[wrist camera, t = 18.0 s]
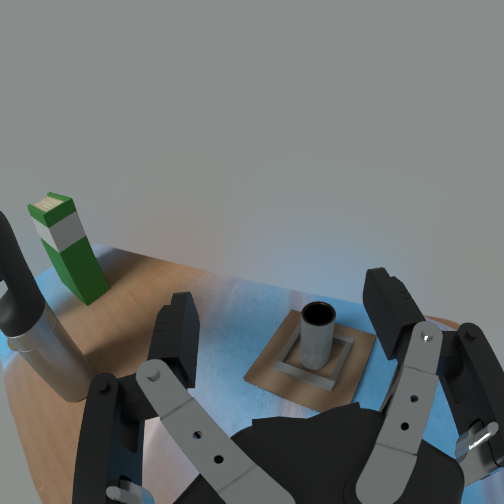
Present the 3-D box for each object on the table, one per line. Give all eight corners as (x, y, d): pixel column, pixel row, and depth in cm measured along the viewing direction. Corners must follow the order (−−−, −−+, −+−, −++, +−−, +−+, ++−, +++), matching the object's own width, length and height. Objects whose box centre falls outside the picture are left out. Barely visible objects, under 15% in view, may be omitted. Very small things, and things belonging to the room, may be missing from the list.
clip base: (244, 380, 41) (242, 372, 40) (291, 313, 52) (291, 303, 50) (342, 420, 33) (345, 413, 32) (375, 339, 44) (378, 329, 43)
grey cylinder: (310, 342, 44) (313, 296, 39) (334, 354, 42) (342, 308, 36) (294, 361, 42) (294, 316, 36) (319, 375, 39) (324, 331, 33)
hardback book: (62, 282, 67) (26, 205, 54) (81, 267, 72) (50, 192, 59) (87, 306, 58) (43, 215, 45) (109, 288, 63) (71, 198, 50)
